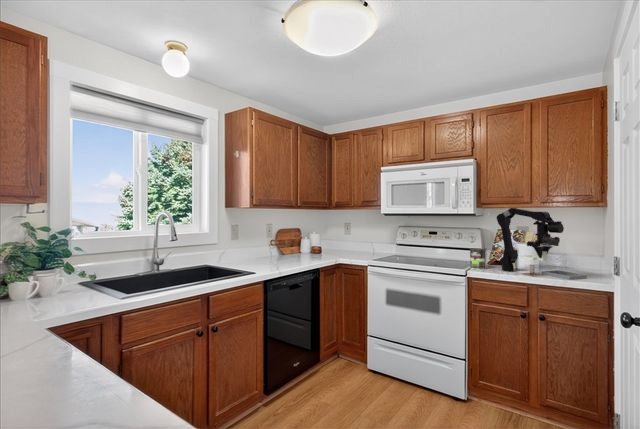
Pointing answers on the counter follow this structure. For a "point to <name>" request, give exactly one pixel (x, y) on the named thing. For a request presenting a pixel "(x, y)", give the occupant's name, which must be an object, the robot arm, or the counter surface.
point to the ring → (536, 257)
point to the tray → (564, 275)
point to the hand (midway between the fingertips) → (542, 257)
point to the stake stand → (532, 272)
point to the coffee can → (478, 258)
